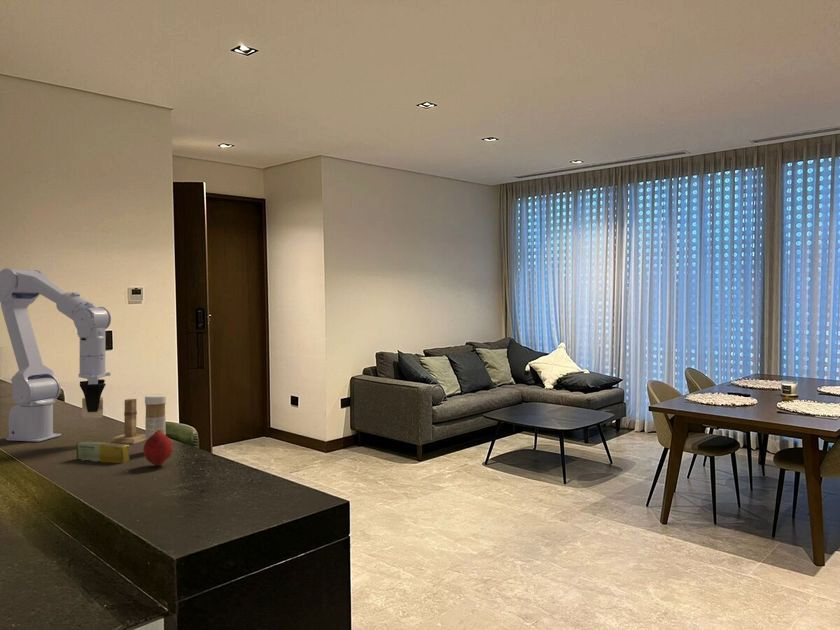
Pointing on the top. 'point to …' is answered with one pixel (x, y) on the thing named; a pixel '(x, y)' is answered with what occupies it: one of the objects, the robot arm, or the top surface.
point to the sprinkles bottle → (155, 414)
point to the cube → (92, 414)
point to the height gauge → (129, 425)
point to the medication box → (103, 452)
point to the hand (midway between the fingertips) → (92, 410)
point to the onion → (158, 448)
